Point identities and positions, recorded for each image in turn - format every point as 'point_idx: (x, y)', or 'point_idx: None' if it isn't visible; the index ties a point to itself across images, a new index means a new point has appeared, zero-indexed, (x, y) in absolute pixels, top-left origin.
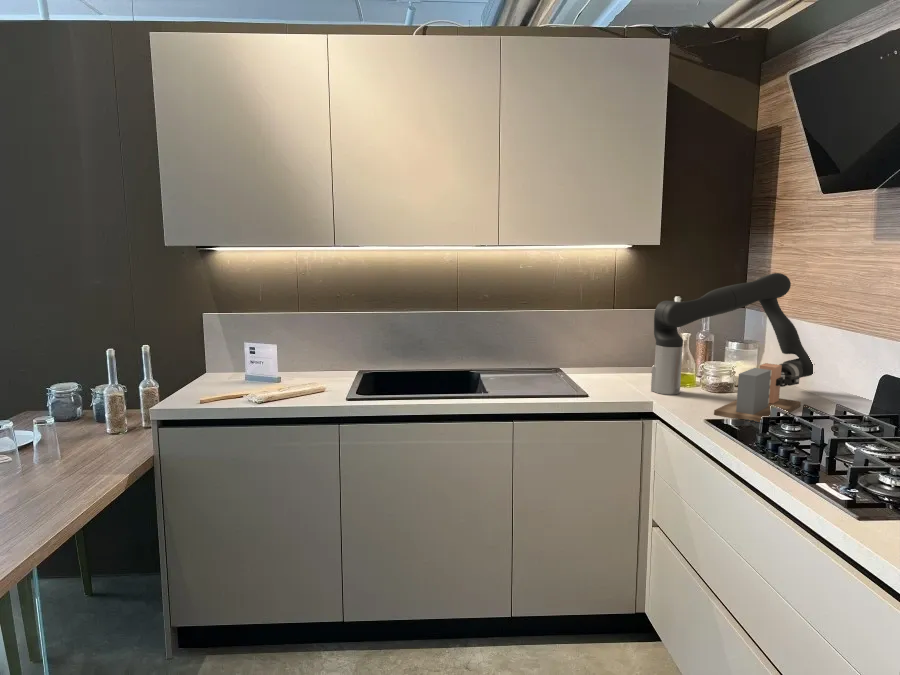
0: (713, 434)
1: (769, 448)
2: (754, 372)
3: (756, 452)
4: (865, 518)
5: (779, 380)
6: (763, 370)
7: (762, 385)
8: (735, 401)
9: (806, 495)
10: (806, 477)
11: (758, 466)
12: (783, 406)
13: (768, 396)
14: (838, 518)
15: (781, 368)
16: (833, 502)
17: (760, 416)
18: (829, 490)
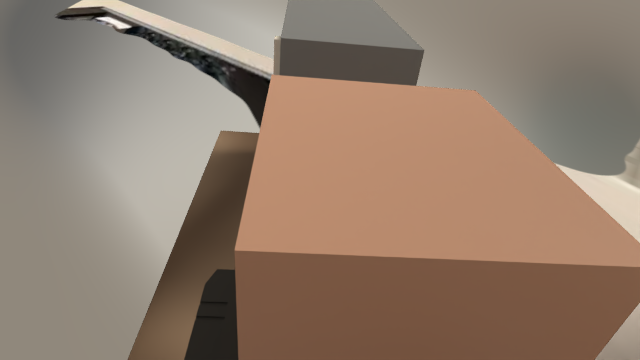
0: None
1: (196, 66)
2: (332, 4)
3: (214, 55)
4: (94, 7)
5: (231, 277)
6: (320, 25)
7: None
8: None
9: (145, 16)
10: (140, 31)
11: (203, 36)
12: (183, 351)
13: None
14: (121, 6)
15: (237, 314)
16: (119, 14)
17: (254, 146)
18: (117, 22)
